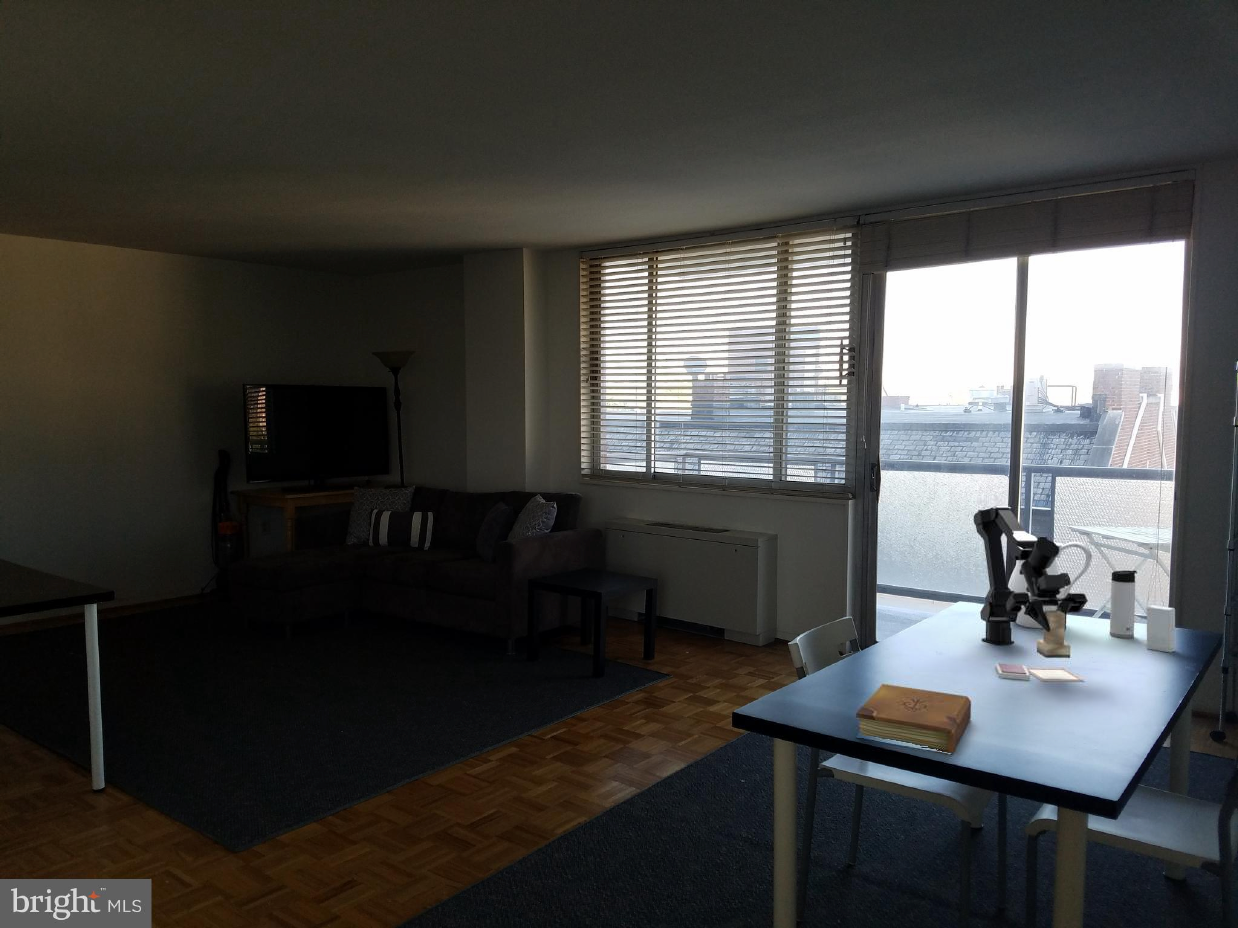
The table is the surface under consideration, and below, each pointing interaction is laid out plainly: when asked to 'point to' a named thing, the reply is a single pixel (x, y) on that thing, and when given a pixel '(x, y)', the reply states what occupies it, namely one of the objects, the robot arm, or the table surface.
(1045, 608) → the pitcher
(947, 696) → the diary
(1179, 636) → the table surface
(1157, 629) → the skincare box
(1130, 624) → the travel mug
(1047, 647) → the stamp
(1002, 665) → the ink pad
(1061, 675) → the marked card
